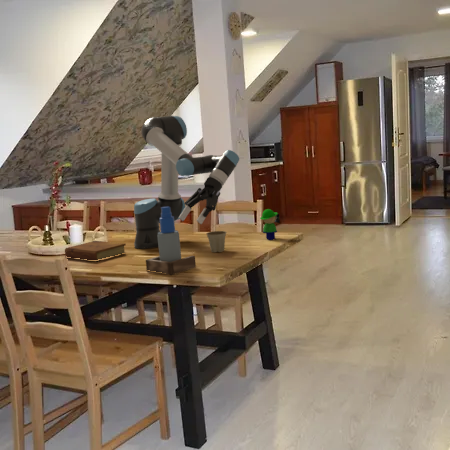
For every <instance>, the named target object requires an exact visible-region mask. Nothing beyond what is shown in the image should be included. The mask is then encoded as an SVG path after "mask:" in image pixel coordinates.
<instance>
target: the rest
mask: <svg viewBox="0 0 450 450" xmlns="http://www.w3.org/2000/svg"><path fill="white" fill-rule="evenodd" d="M196 264H197V263H196V256H195V255H189V256H186V257H183V258H182V257H181V259H179V260H176V261H172V262H167V261H160V256H159V255H158V256H155V257H152V258H148V259H145V267H146V271H147V270H150V271H156V272H162V273H166V274H165V275H168V274H170V275H169V276H172V274H173V275H175V273H176V274H178V273H182V272H185V271H189V270H191V269H194V268H196V267H197V265H196ZM156 272H155V273H156ZM162 273H161V274H162Z"/></svg>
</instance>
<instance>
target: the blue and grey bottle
mask: <svg viewBox="0 0 450 450" xmlns="http://www.w3.org/2000/svg"><path fill="white" fill-rule="evenodd" d="M161 209H162V213H161V218H159V219H160V223H159V230H160V232H158V235H157V236H158V246H159V247H158V253H159V254H158V256H160V261H167V262H172V261H176V260H179V259H182V252H181V249H182V248H181V242H180V241H181V240H180V232H179V230H176V225H175V221H174V217H173V216H172V213H171V210H170V207H161Z"/></svg>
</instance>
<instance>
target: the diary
mask: <svg viewBox="0 0 450 450" xmlns="http://www.w3.org/2000/svg"><path fill="white" fill-rule="evenodd" d="M125 246H126V243H124V242H113V241H104V240H103V241H101V240H92V241H88V242H85V243H80V244H77V245H72V246H69V247H66V248H65V249H64V253H65V257H66V256H67V257H71V258H80V259H87V260H98V259H102V258H106V257H110V256H115V255H118V254H122V253H126V252H125Z"/></svg>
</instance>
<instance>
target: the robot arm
mask: <svg viewBox="0 0 450 450" xmlns="http://www.w3.org/2000/svg"><path fill="white" fill-rule="evenodd" d="M187 133H188V128H187V125H186V122H185V120H184V119H183V118H182V117H181V116H178V115H166V116H165V115H164V116H153V117H150V118H148V119H147V120H146V121H144V122H143V124H142V126H141V136H142V138H143V140H144V141H145V142H146V143H147V144H148V145H149V146H151V147H155V148H156V149H157V150H158V151H159V152H160V153H161V165H160V169H161V174H160V175H161V177H160V178H161V181H160V182H161V187H160V191H161V192H160V193H159V194H158V197H157V199H156V198H147V199H142V200H140V201H139V200H138V201H136V202H135V204H134V207H133V214H134V219H135V220H134V221H135V229H136V232H135V233H136V234H135V238H134V242H133V245H134V246H133V247H134V248H135V249H139V248H140V250H141V249H155V248H159V246H158V236H157V235H158V232H161V230H160V219H159V218H161V213H162V209H161V207H170V210H171V213H172V216H173V217H174V222H175V221H178V220H181V222H184V221H185V219H186V218H187V217H188V215H189V214H190V212H191V211H192V208H193V207H194V206H196V205H197V204H198V203H200V202H203V201H204V200H206V203H205V207H203V209H202V211H201V213H200V214H199V216H198V217H197V218H196V222H197V223H198V224H200V225H202V224H203V223H204V221H205V219H206V218H207V217H208V215H209V214H210V212H212V211H213V212H214V211H216V207H217V204H218V200H219V197H220V195H221V192H220V191H221V189H222V188H223V186H224V185H225V184H226V181H228V178H229V177H230V176H231V174H232V173H233V171H234V170H235V169H236V167H237V165H238V163H239V161H240V156H239V155H238V154H237V153H236V152H235V151H233V150H230V149H226V150H225V151H224V152H223V154H221V155H213V154H207V155H205V156H198V157H193V156H192V155H190V153H188V152H187V151H185V150H184V148H182V147H181V145H182V144H183V140H184V139H185V138H186V136H187ZM202 174H209V175H208V177H206V180H205V181H204V182H203V185H204V187H203V188H201V187H198V189H197V190H196V191H195V192H194V193H193V194H192V195H191V196H190V197H189V198H188V199H187V200H184V199H183V198H182V196H181V194H180V193H179V176H181V177H185V176H186V177H189V176H194V175H202Z"/></svg>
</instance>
